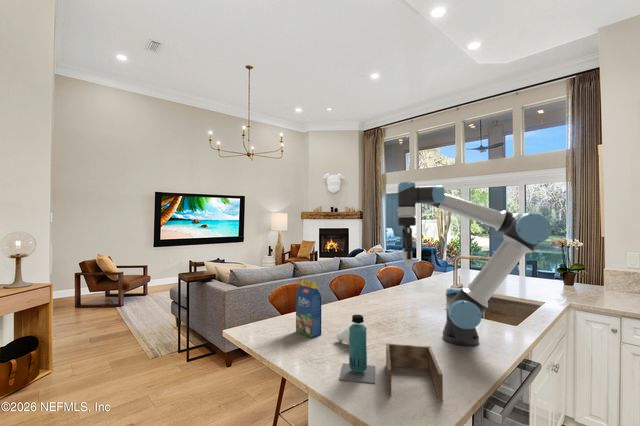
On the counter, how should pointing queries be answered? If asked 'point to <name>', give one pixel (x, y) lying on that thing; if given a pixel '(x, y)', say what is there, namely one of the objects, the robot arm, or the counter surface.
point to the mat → (358, 374)
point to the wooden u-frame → (414, 363)
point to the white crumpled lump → (343, 336)
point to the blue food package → (308, 309)
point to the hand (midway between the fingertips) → (407, 265)
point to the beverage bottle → (357, 345)
